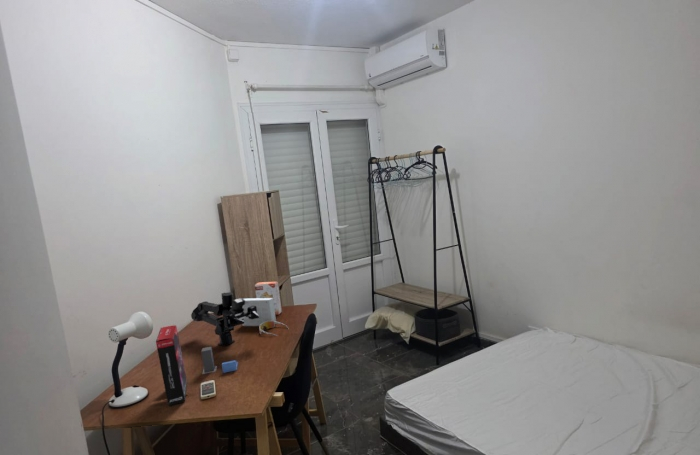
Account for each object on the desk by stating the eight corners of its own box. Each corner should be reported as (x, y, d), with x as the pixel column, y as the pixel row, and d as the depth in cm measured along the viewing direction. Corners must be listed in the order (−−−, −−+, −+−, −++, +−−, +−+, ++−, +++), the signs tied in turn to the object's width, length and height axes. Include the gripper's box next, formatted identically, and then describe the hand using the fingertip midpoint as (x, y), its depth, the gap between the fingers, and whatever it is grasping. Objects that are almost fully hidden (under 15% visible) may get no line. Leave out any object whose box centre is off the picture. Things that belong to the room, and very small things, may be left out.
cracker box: (258, 316, 261) (254, 284, 258) (262, 313, 267) (257, 282, 264) (279, 314, 258) (274, 283, 256) (282, 311, 264) (277, 280, 262)
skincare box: (277, 323, 243) (273, 297, 241) (272, 326, 238) (268, 300, 236) (247, 322, 250) (243, 298, 248) (242, 326, 245) (238, 300, 243)
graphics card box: (185, 402, 159) (174, 336, 156) (166, 407, 157) (155, 340, 154) (187, 384, 175) (177, 323, 172) (170, 388, 173) (159, 327, 170)
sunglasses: (271, 325, 240) (271, 317, 239) (291, 331, 232) (291, 323, 231) (254, 334, 228) (254, 326, 227) (275, 341, 220) (275, 332, 219)
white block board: (195, 380, 178) (194, 370, 177) (200, 368, 190) (198, 358, 190) (242, 371, 182) (240, 361, 181) (243, 359, 194) (241, 350, 194)
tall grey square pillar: (204, 372, 183) (201, 351, 181) (205, 368, 186) (202, 348, 185) (213, 370, 183) (210, 349, 182) (214, 367, 187) (211, 346, 186)
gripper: (215, 303, 202) (234, 309, 193) (245, 293, 217) (265, 299, 207) (217, 324, 204) (236, 331, 194) (247, 313, 218) (266, 319, 209)
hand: (251, 319), depth 201 cm, fingers open, 9 cm apart
